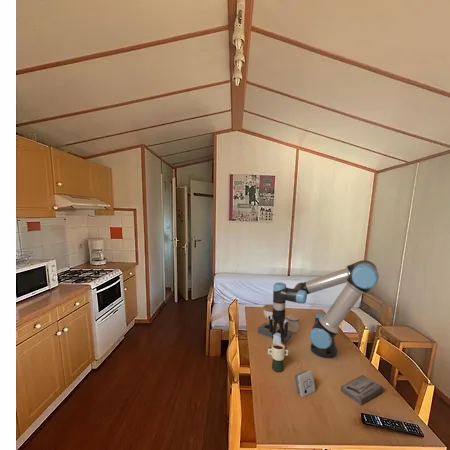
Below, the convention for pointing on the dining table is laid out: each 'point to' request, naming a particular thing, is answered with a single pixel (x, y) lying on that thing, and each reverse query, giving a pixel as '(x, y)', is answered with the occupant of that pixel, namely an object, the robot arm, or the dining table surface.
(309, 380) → the electrical switch
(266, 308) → the lidded bowl
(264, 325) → the battery charging station
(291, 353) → the dining table surface
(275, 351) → the character mug
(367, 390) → the box
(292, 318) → the teacup with lid
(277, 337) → the plug
